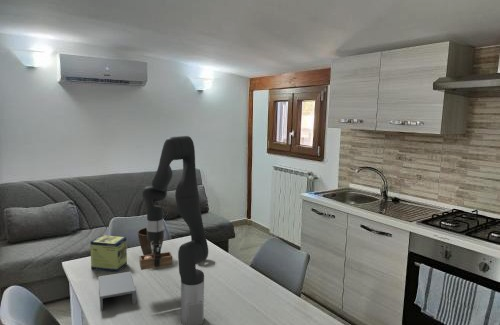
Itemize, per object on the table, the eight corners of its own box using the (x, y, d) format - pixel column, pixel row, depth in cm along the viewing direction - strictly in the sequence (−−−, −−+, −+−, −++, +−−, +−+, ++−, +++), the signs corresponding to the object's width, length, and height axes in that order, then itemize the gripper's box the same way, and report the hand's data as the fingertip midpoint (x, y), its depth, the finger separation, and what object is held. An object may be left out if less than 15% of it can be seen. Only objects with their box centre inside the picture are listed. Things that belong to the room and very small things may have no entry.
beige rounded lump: (144, 267, 159) (144, 259, 159) (143, 264, 162) (143, 256, 162) (152, 266, 161) (152, 258, 160) (151, 263, 164) (151, 255, 163)
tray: (172, 265, 163) (172, 255, 163) (141, 270, 158) (140, 260, 157) (170, 260, 168) (169, 251, 168) (139, 265, 163) (139, 255, 162)
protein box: (117, 272, 185) (117, 243, 183) (90, 269, 187) (89, 241, 185) (127, 263, 195) (127, 237, 193) (101, 261, 197) (100, 234, 195)
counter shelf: (136, 304, 154) (135, 290, 153) (100, 311, 148) (99, 296, 147) (131, 284, 172) (130, 271, 171) (99, 289, 166) (98, 276, 165)
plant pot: (138, 253, 209) (137, 227, 207) (163, 251, 214) (163, 226, 211) (138, 264, 195) (137, 236, 193) (165, 261, 199) (165, 234, 197)
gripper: (144, 225, 166) (145, 259, 168) (149, 234, 153) (149, 271, 155) (161, 223, 169) (161, 257, 171) (166, 232, 156) (167, 268, 158)
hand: (156, 263), depth 163 cm, fingers closed on tray, 5 cm apart
